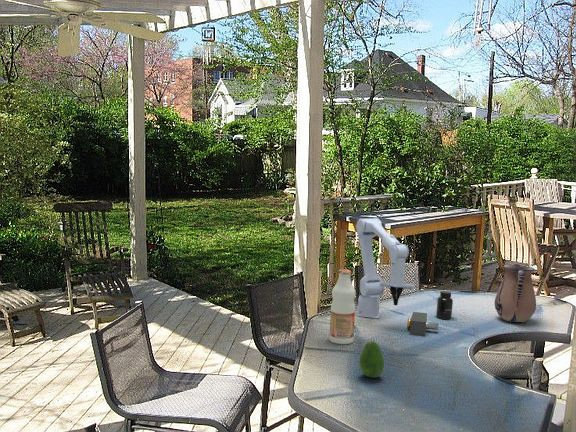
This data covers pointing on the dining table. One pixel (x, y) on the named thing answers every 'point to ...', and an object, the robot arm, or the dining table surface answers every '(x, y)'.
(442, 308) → the supplement bottle
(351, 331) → the fruit juice
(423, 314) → the hitch beam
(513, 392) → the dining table surface
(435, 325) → the lynch pin
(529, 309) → the ceramic pitcher
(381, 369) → the avocado
